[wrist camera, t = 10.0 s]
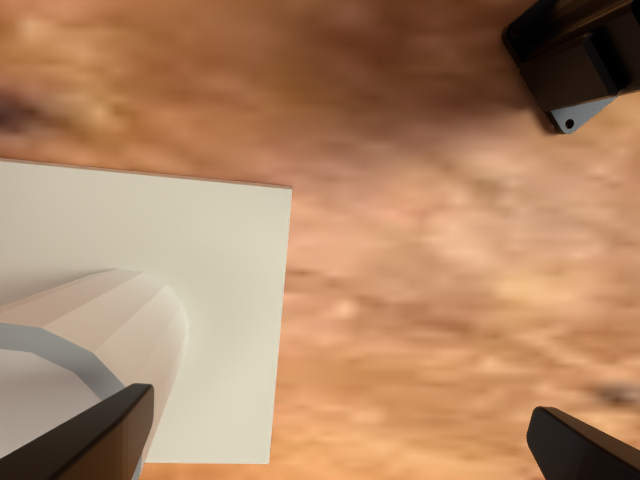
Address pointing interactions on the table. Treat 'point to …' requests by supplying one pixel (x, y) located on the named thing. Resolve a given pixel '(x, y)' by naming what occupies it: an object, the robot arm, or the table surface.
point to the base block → (168, 282)
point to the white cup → (86, 351)
